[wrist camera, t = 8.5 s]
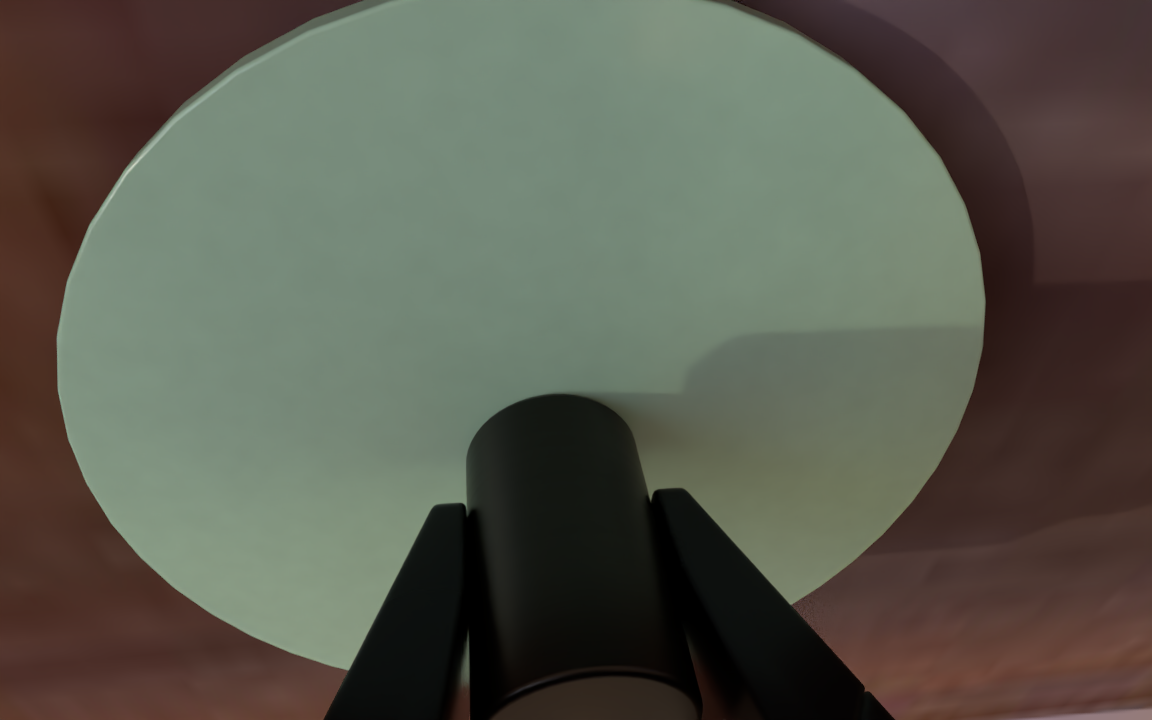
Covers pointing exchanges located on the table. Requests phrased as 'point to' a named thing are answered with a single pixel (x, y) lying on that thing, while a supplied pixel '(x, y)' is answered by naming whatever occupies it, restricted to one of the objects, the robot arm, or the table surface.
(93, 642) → the table surface
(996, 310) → the table surface
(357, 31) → the lid
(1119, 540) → the table surface
